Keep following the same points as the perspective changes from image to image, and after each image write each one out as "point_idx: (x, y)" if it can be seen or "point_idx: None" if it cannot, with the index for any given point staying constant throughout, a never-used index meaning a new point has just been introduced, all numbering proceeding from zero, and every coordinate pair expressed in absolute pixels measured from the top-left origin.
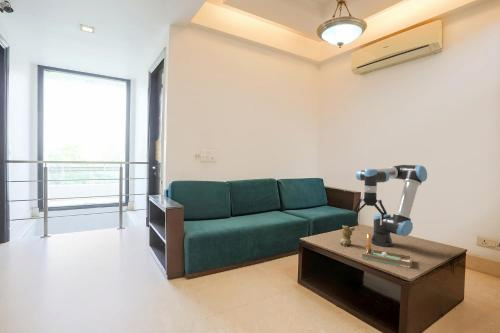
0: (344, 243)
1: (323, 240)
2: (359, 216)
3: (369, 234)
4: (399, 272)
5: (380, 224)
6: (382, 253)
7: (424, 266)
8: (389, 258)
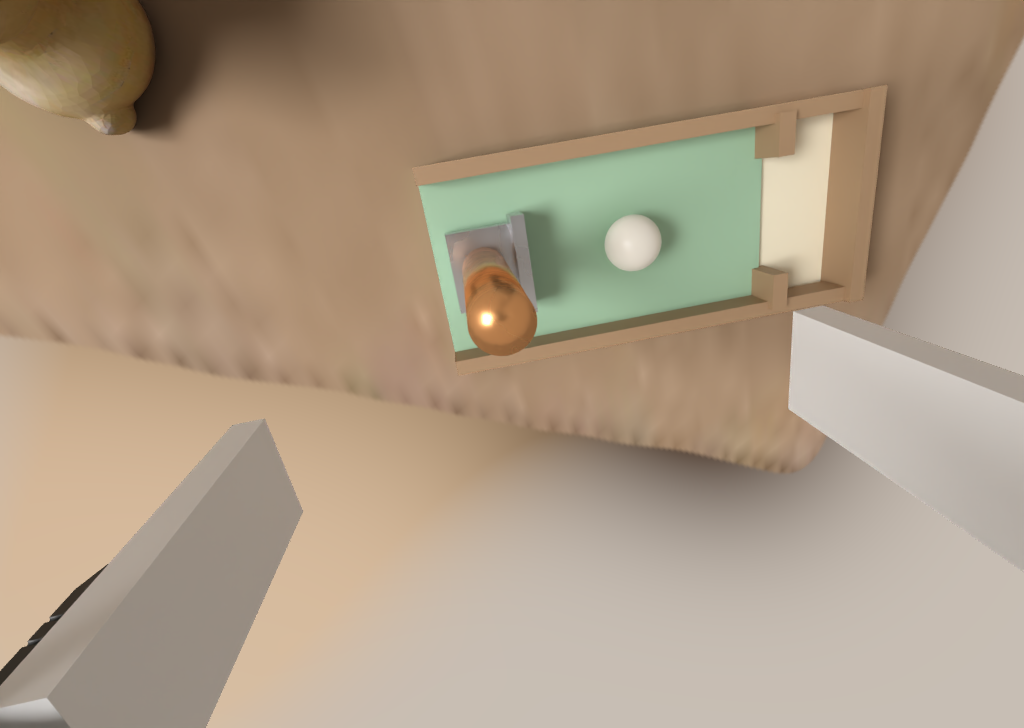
0: (110, 133)
1: None
2: (226, 629)
3: (502, 304)
4: (749, 427)
5: (807, 412)
6: (623, 265)
7: (922, 168)
8: (690, 323)
